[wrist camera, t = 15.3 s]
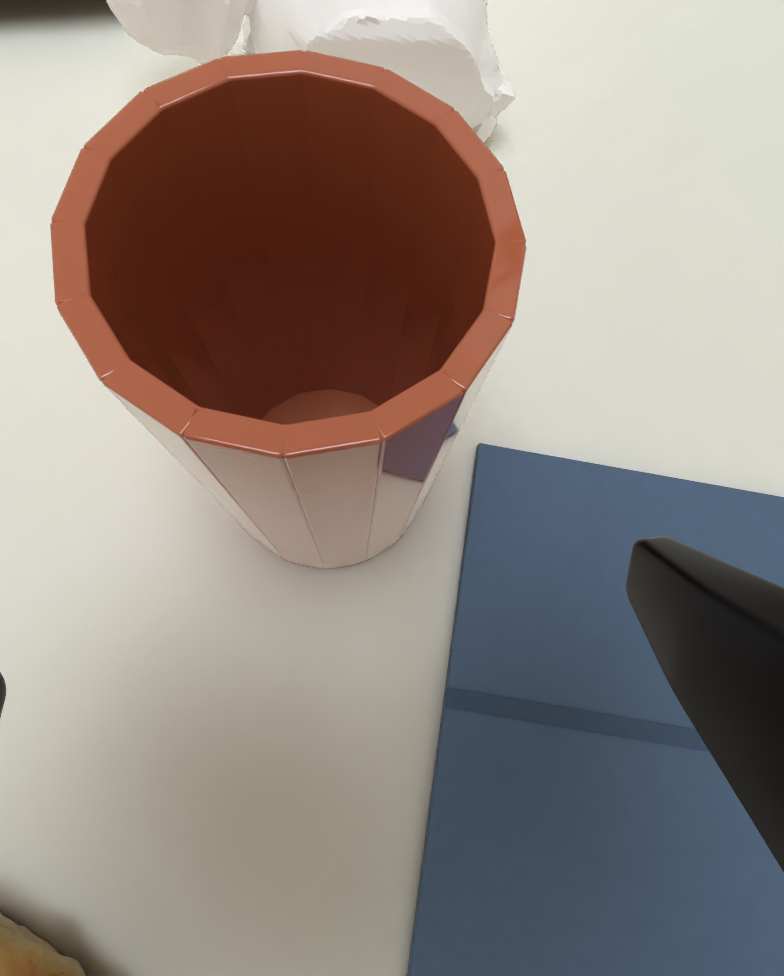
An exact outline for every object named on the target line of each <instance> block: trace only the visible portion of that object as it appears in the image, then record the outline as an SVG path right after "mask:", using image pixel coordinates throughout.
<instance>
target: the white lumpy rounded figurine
mask: <svg viewBox="0 0 784 976" xmlns="http://www.w3.org/2000/svg"><path fill="white" fill-rule="evenodd" d="M106 1H107V3H108V5H109V7H110V9H111V11H112V12H113V13H114V15H115V16H116V18H117V19H118V21H119V22H120V23H121V25H122V26H123V28H124V29H125V31H126V32H127V33H128V34H129V35H130V36H131V37H132V38H133V39H135V40H136V41H137V42H138V43H140V44H142V45H144V46H146V47H148V48H150V49H151V50H153V51H155V52H158V53H161V54H163V55H179V56H186V57H190V58H193V59H196V60H198V61H199V62H201V63H203V64H204V63H206V62H209V61H211V60H213V59H216V58H219V59H220V60H221V57H224V56H227V54H228V52H229V51H230V49H231V48H232V46H233V45H234V44H235V42H236V40H237V38H238V35H239V32H240V29H241V25H242V21H243V17H244V15H246V19H245V22H244V24H243V32H244V50H245V51H246V52H248V53H252V54H258V53H270V52H281V51H292V50H303V52H304V51H306V50H308V51H313V52H318V53H322V54H327V55H331V56H336V57H340V58H345V59H349V60H354V61H359V62H363V63H368V64H372V65H377V66H381V67H383V68H384V69H389V70H391V71H393V72H394V73H396V74H398V75H399V76H401V77H403V78H405V79H406V80H408V81H410V82H411V83H413V84H415V85H416V86H418V87H420V88H421V89H423V90H425V91H427V92H428V93H430V94H432V95H433V96H435V97H437V98H438V99H440V100H442V101H444V102H445V103H447V104H449V105H450V106H452V107H453V108H454V110H456V111H458V112H459V114H460V115H461V116H462V117H463V118H464V120H465V121H466V122H467V123H468V125H469V126H470V127H471V128H472V129H473V131H474V132H475V133H476V134H477V136H478V137H479V138H480V139H481V140H482V142H483V143H484V142H485V141H486V139H487V138H488V137H489V136H491V135H492V133H493V130H494V128H495V127H496V125H497V119H496V116H497V115H498V114H499V113H500V112H501V111H502V110H504V109H505V108H506V107H507V106H508V105H509V104H511V103H512V102H513V100H514V99H515V93H514V89H513V85H512V82H511V81H510V80H509V79H508V78H506V77H504V76H502V74H501V71H500V69H499V65H498V58H497V55H496V51H495V50H494V47H493V44H492V42H491V39H490V35H489V32H488V23H487V10H486V6H487V4H488V2H487V0H106Z"/></svg>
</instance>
